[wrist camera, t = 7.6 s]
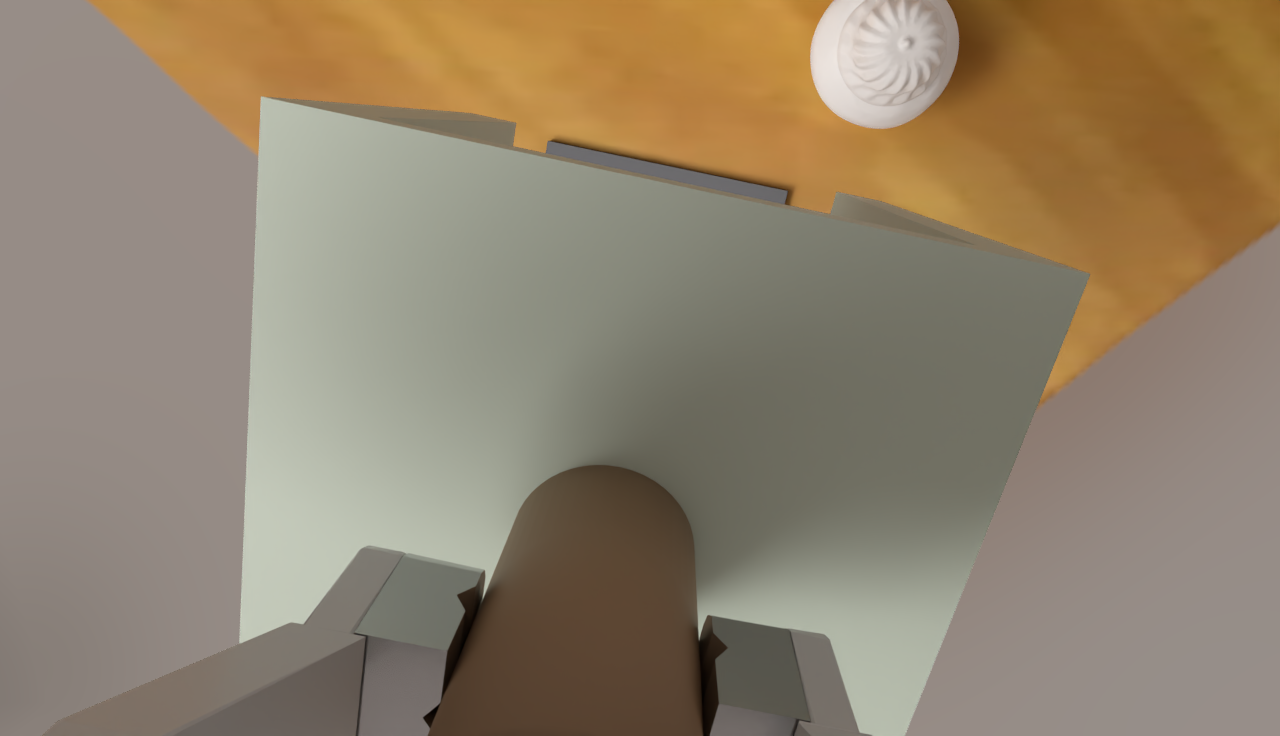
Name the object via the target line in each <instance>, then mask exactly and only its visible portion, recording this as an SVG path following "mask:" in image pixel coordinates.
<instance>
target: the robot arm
mask: <svg viewBox="0 0 1280 736" xmlns="http://www.w3.org/2000/svg"><path fill="white" fill-rule="evenodd" d="M485 578H486V575H485V570H484V569H479V568H475V567H470V566H465V565H461V564H456V563H452V562H447V561H443V560H438V559H433V558H429V557H424V556H420V555H415V554H411V553H408V554H406V553H405V552H401V551H396V550H391V549H386V548H381V547H376V546H371V545H368V546H365V547H363V548H361V549H360V550H359V551H358V552H357V554H356V555H355V556H354V558H353V559H352V560H351V562H350V563H349V564H348V566H347V567H346V568H345V570H344V571H343V572H342V574H341V575H340V576H339V578H338V579H337V580H336V582H335V583H334V584H333V586H332V587H331V588H330V590H329V591H328V592H327V593H326V595H325V596H324V597H323V599H322V600H321V601H320V603H319V604H318V605H317V607H316V608H315V609H314V611H313V612H312V613H311V615H310V616H309V617H308V619H307V620H306V621H305V623H304V624H298V623H293V622H290V623H288V624H285V625H283V626H281V627H278V628H276V629H273V630H271V631H269V632H266V633H264V634H262V635H259V636H257V637H255V638H252V639H250V640H247V641H245V642H243V643H240V644H238V645H236V646H233V647H231V648H229V649H226V650H224V651H221V652H219V653H217V654H214V655H212V656H210V657H207V658H205V659H203V660H200V661H198V662H196V663H193V664H191V665H189V666H186V667H184V668H181V669H179V670H177V671H174V672H172V673H170V674H167V675H165V676H162V677H160V678H158V679H155V680H153V681H151V682H148V683H146V684H144V685H141V686H139V687H136V688H134V689H132V690H129V691H127V692H125V693H122V694H120V695H118V696H115V697H113V698H110V699H108V700H106V701H103V702H101V703H99V704H96V705H94V706H92V707H89V708H87V709H84V710H82V711H80V712H77V713H75V714H73V715H70V716H68V717H66V718H63V719H61V720H58V721H57V722H56V723H55V724H54V725H53V726H52V727H51V728H50V729H49V730H47V731H46V732H45V733H44V734H43V735H42V736H427V735H428V733H429V730H430V728H431V726H432V723H433V721H434V718H435V716H436V713H437V711H438V708H439V706H440V703H441V701H442V698H443V696H444V694H445V691H446V689H447V686H448V684H449V681H450V679H451V676H452V674H453V672H454V669H455V667H456V664H457V662H458V659H459V657H460V654H461V652H462V649H463V647H464V644H465V642H466V639H467V637H468V634H469V632H470V630H471V627H472V625H473V622H474V620H475V617H476V615H477V612H478V610H479V607H480V605H481V602H482V600H483V593H484V585H485ZM699 652H700V672H701V692H702V712H703V732H704V736H872V735H870V734H865V733H860V732H859V729H858V726H857V723H856V720H855V716H854V713H853V710H852V707H851V704H850V701H849V698H848V694H847V691H846V688H845V685H844V682H843V679H842V676H841V673H840V669H839V666H838V663H837V660H836V657H835V654H834V651H833V647H832V644H831V641H830V639H829V638H828V637H827V636H826V635H825V634H820V633H814V632H808V631H802V630H796V629H790V628H786V629H784V628H778V627H773V626H767V625H762V624H756V623H751V622H745V621H740V620H734V619H729V618H724V617H718V616H713V615H707V617H706V620H705V622H704V624H703V628H702V631H701V635H700V639H699Z"/></svg>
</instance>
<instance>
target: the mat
mask: <svg viewBox="0 0 1280 736" xmlns="http://www.w3.org/2000/svg"><path fill="white" fill-rule="evenodd" d="M546 154H551V155H556V156H560V157H565V158H570V159H574V160H579V161H584V162H588V163H593V164H598V165H602V166H607V167H612V168H616V169H621V170H626V171H630V172H635V173H640V174H644V175H649V176H654V177H658V178H663V179H668V180H672V181H677V182H682V183H686V184H691V185H696V186H700V187H705V188H710V189H714V190H719V191H724V192H729V193H733V194H738V195H743V196H747V197H752V198H757V199H761V200H766V201H771V202H775V203H780V204H785V200H786V196H787V192H788V191H786V190H782V189H777V188H772V187H767V186H762V185H758V184H753V183H748V182H743V181H738V180H734V179H729V178H724V177H719V176H715V175H710V174H705V173H700V172H695V171H691V170H686V169H681V168H676V167H671V166H667V165H662V164H657V163H652V162H648V161H643V160H638V159H633V158H628V157H624V156H619V155H614V154H609V153H605V152H600V151H595V150H590V149H585V148H581V147H576V146H571V145H566V144H561V143H557V142H552V141H548V143H547V150H546Z"/></svg>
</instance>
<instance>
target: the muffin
mask: <svg viewBox="0 0 1280 736" xmlns="http://www.w3.org/2000/svg"><path fill="white" fill-rule="evenodd" d="M958 50H959V32H958V26H957V22H956V18H955V16H954V13H953V11H952V9H951V7H950V5H949V4H948V2H947V0H834V1H833V2H832V3H831V4H830V6H829V7H828V8H827V10H826V11H825V13H824V14H823V16H822V17H821V19H820V21H819V23H818V25H817V28H816V30H815V33H814V36H813V40H812V45H811V53H810V63H811V72H812V77H813V81H814V84H815V87H816V89H817V92H818V94H819V95H820V97H821V99H822V100H823V102H824V103H825V104H826V105H827V106H828V108H829V109H830V110H832V111H833V112H834V113H835V114H836V115H838V116H839V117H841V118H843V119H844V120H846V121H849V122H850V123H853V124H856V125H859V126H863V127H867V128H874V129H886V128H892V127H896V126H900V125H902V124H905V123H907V122H909V121H911V120H913V119H914V118H916V117H917V116H919V115H920V114H921V113H923V112H924V111H925V110H926V109H927V108H929V107H930V106H931V105H932V104H933V103H934V102H935V100H936V99H937V98H938V97H939V96H940V95H941V93H942V92H943V90H944V89H945V87H946V86H947V84H948V82H949V80H950V78H951V76H952V73H953V71H954V68H955V65H956V61H957V56H958Z"/></svg>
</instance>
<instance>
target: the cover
mask: <svg viewBox="0 0 1280 736" xmlns="http://www.w3.org/2000/svg"><path fill="white" fill-rule="evenodd" d="M515 128H516V123H514V122H510V121H505V120H500V119H496V118H491V117H486V116H482V115H477V114H472V113H462V112H450V111H437V110H425V109H412V108H399V107H387V106H374V105H361V104H349V103H336V102H323V101H311V100H298V99H286V98H273V97H261V110H260V135H259V161H258V186H257V212H256V237H255V262H254V287H253V313H252V338H251V363H250V388H249V389H250V390H249V414H248V439H247V466H246V490H245V515H244V541H243V565H242V591H241V617H240V641H239V642H240V643H243V642H245V641H247V640H250V639H252V638H255V637H257V636H259V635H262V634H264V633H266V632H269V631H271V630H273V629H276V628H278V627H281V626H283V625H285V624H288V623H290V622H293V623H298V624H304V623H305V621H306V620H307V619H308V617H309V616H310V615H311V613H312V612H313V611H314V609H315V608H316V607H317V605H318V604H319V603H320V601H321V600H322V599H323V597H324V596H325V595H326V593H327V592H328V591H329V590H330V588H331V587H332V586H333V584H334V583H335V582H336V580H337V579H338V578H339V576H340V575H341V574H342V572H343V571H344V570H345V568H346V567H347V566H348V564H349V563H350V562H351V560H352V559H353V558H354V556H355V555H356V554H357V552H358V551H359V550H360V549H361V548H363V547H365V546H368V545H371V546H376V547H381V548H386V549H391V550H396V551H401V552H405V553H406V554H408V553H411V554H415V555H420V556H424V557H429V558H433V559H438V560H443V561H447V562H452V563H456V564H461V565H465V566H470V567H475V568H479V569H484V570H485V575H486V578H485V585H484V593H483V600H482V602H481V605H480V607H479V610H478V612H477V615H476V617H475V620H474V622H473V625H472V627H471V630H470V632H469V634H468V637H467V639H466V642H465V644H464V647H463V649H462V652H461V654H460V657H459V659H458V662H457V664H456V667H455V669H454V672H453V674H452V676H451V679H450V681H449V684H448V686H447V689H446V691H445V694H444V696H443V698H442V701H441V703H440V706H439V708H438V711H437V713H436V716H435V718H434V721H433V723H432V726H431V728H430V730H429V733H428V735H427V736H704V732H703V712H702V692H701V672H700V652H699V639H700V635H701V631H702V628H703V624H704V622H705V620H706V617H707V615H713V616H718V617H724V618H729V619H734V620H740V621H745V622H751V623H756V624H762V625H767V626H773V627H778V628H784V629H786V628H790V629H796V630H802V631H808V632H814V633H820V634H825V635H826V636H827V637H828V638H829V639H830V641H831V644H832V647H833V651H834V654H835V657H836V660H837V663H838V666H839V669H840V673H841V676H842V679H843V682H844V685H845V688H846V691H847V694H848V698H849V701H850V704H851V707H852V710H853V713H854V716H855V720H856V723H857V726H858V729H859V732H860V733H865V734H870V735H872V736H905V734H906V731H907V729H908V726H909V724H910V721H911V719H912V716H913V714H914V711H915V709H916V706H917V704H918V701H919V699H920V696H921V694H922V691H923V689H924V686H925V684H926V682H927V679H928V676H929V674H930V672H931V669H932V667H933V664H934V662H935V659H936V657H937V654H938V652H939V649H940V646H941V644H942V641H943V639H944V637H945V634H946V632H947V629H948V627H949V624H950V622H951V619H952V617H953V614H954V612H955V609H956V607H957V604H958V602H959V599H960V597H961V595H962V592H963V589H964V587H965V585H966V582H967V579H968V577H969V575H970V572H971V570H972V567H973V565H974V562H975V560H976V557H977V555H978V552H979V550H980V547H981V545H982V542H983V540H984V537H985V535H986V532H987V530H988V527H989V525H990V522H991V520H992V517H993V515H994V512H995V510H996V508H997V505H998V503H999V500H1000V497H1001V495H1002V492H1003V490H1004V487H1005V485H1006V483H1007V480H1008V477H1009V475H1010V473H1011V470H1012V468H1013V465H1014V463H1015V460H1016V458H1017V455H1018V453H1019V450H1020V448H1021V445H1022V443H1023V440H1024V438H1025V435H1026V433H1027V430H1028V428H1029V425H1030V423H1031V420H1032V418H1033V415H1034V413H1035V411H1036V408H1037V406H1038V403H1039V401H1040V398H1041V396H1042V393H1043V391H1044V388H1045V386H1046V383H1047V381H1048V378H1049V376H1050V373H1051V371H1052V368H1053V366H1054V363H1055V361H1056V358H1057V356H1058V353H1059V351H1060V348H1061V346H1062V343H1063V341H1064V338H1065V336H1066V333H1067V331H1068V328H1069V326H1070V323H1071V321H1072V318H1073V316H1074V314H1075V311H1076V309H1077V306H1078V304H1079V301H1080V299H1081V296H1082V294H1083V291H1084V289H1085V286H1086V284H1087V281H1088V279H1089V276H1090V274H1089V273H1086V272H1083V271H1080V270H1077V269H1074V268H1072V267H1069V266H1066V265H1063V264H1060V263H1057V262H1054V261H1051V260H1049V259H1046V258H1043V257H1040V256H1037V255H1034V254H1031V253H1028V252H1026V251H1023V250H1020V249H1017V248H1014V247H1011V246H1008V245H1005V244H1003V243H1000V242H997V241H994V240H991V239H988V238H985V237H982V236H980V235H977V234H974V233H971V232H968V231H965V230H962V229H959V228H956V227H954V226H951V225H948V224H945V223H942V222H939V221H936V220H933V219H931V218H928V217H925V216H922V215H919V214H916V213H913V212H910V211H908V210H905V209H902V208H899V207H896V206H893V205H890V204H887V203H885V202H882V201H877V200H873V199H868V198H864V197H859V196H854V195H850V194H845V193H840V192H836V196H835V199H834V203H833V207H832V210H831V214H827V213H822V212H817V211H813V210H808V209H803V208H799V207H794V206H789V205H785V204H780V203H775V202H771V201H766V200H761V199H757V198H752V197H747V196H743V195H738V194H733V193H729V192H724V191H719V190H714V189H710V188H705V187H700V186H696V185H691V184H686V183H682V182H677V181H672V180H668V179H663V178H658V177H654V176H649V175H644V174H640V173H635V172H630V171H626V170H621V169H616V168H612V167H607V166H602V165H598V164H593V163H588V162H584V161H579V160H574V159H570V158H565V157H560V156H556V155H551V154H546V153H542V152H537V151H532V150H528V149H523V148H518V147H514V146H513V142H514V135H515ZM240 643H239V644H240Z"/></svg>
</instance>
